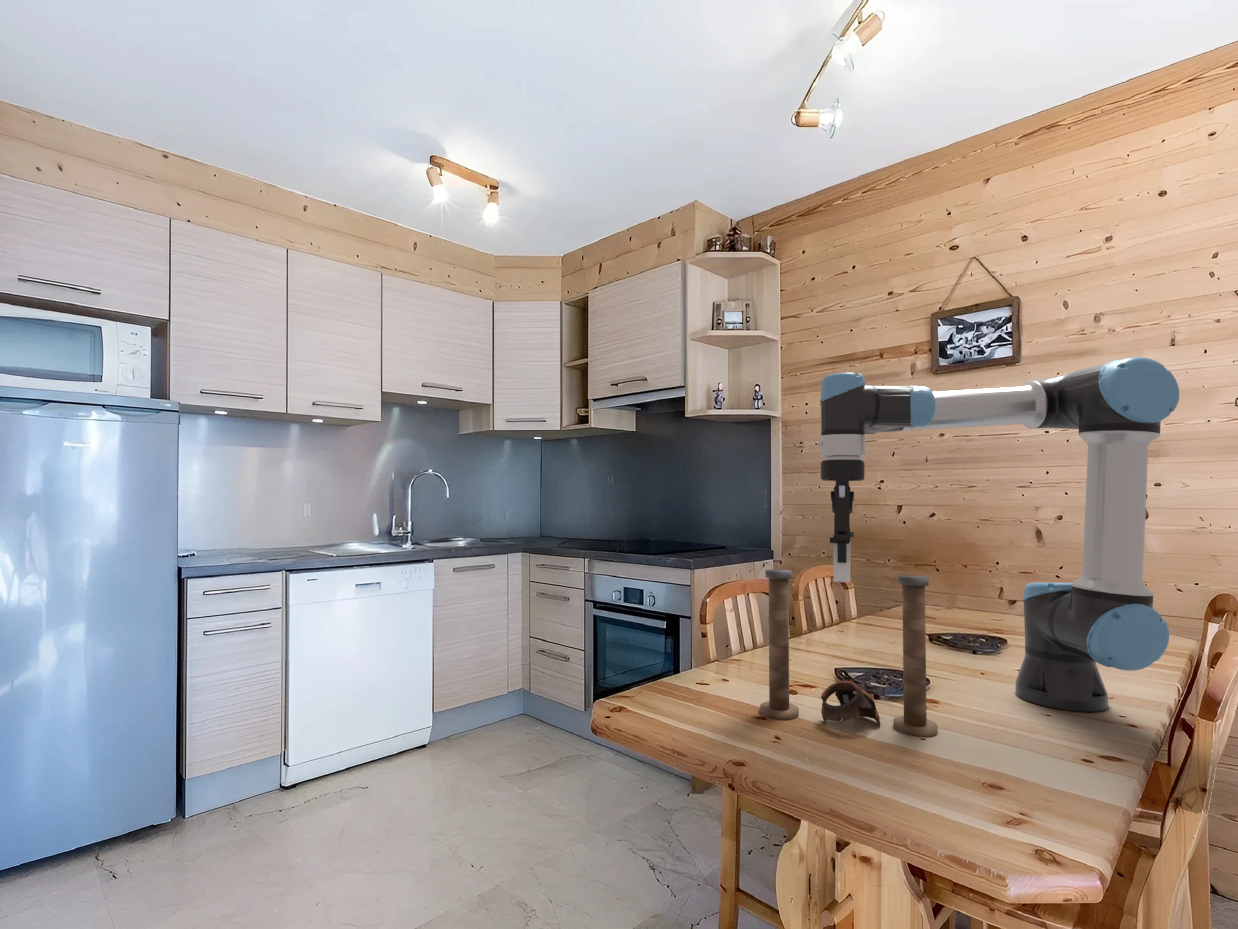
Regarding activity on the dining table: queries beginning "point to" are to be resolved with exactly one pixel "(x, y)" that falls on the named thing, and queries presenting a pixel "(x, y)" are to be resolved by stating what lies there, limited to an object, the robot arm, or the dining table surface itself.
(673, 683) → the dining table surface
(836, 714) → the broken pottery shard
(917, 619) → the post
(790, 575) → the post
